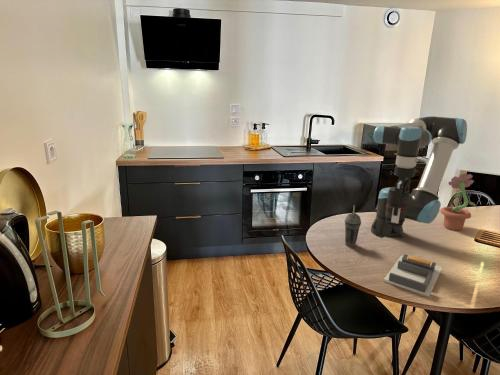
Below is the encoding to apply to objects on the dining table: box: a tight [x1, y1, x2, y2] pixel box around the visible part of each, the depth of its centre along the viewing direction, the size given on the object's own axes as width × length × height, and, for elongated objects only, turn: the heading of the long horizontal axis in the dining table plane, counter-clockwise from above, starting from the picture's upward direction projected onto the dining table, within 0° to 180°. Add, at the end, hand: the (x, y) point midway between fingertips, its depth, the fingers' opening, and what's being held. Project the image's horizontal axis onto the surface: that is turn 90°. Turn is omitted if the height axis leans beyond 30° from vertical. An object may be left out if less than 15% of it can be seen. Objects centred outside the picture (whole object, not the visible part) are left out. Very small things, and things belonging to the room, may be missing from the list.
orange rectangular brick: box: [408, 255, 432, 266], centre depth 141 cm, size 8×3×3 cm, turn 53°
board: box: [383, 254, 443, 298], centre depth 136 cm, size 16×24×4 cm, turn 143°
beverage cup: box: [344, 204, 362, 248], centre depth 158 cm, size 7×7×20 cm
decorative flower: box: [440, 173, 477, 231], centre depth 178 cm, size 15×14×30 cm
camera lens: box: [385, 186, 411, 227], centre depth 143 cm, size 8×8×15 cm
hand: (397, 219), depth 144 cm, fingers closed on camera lens, 8 cm apart
